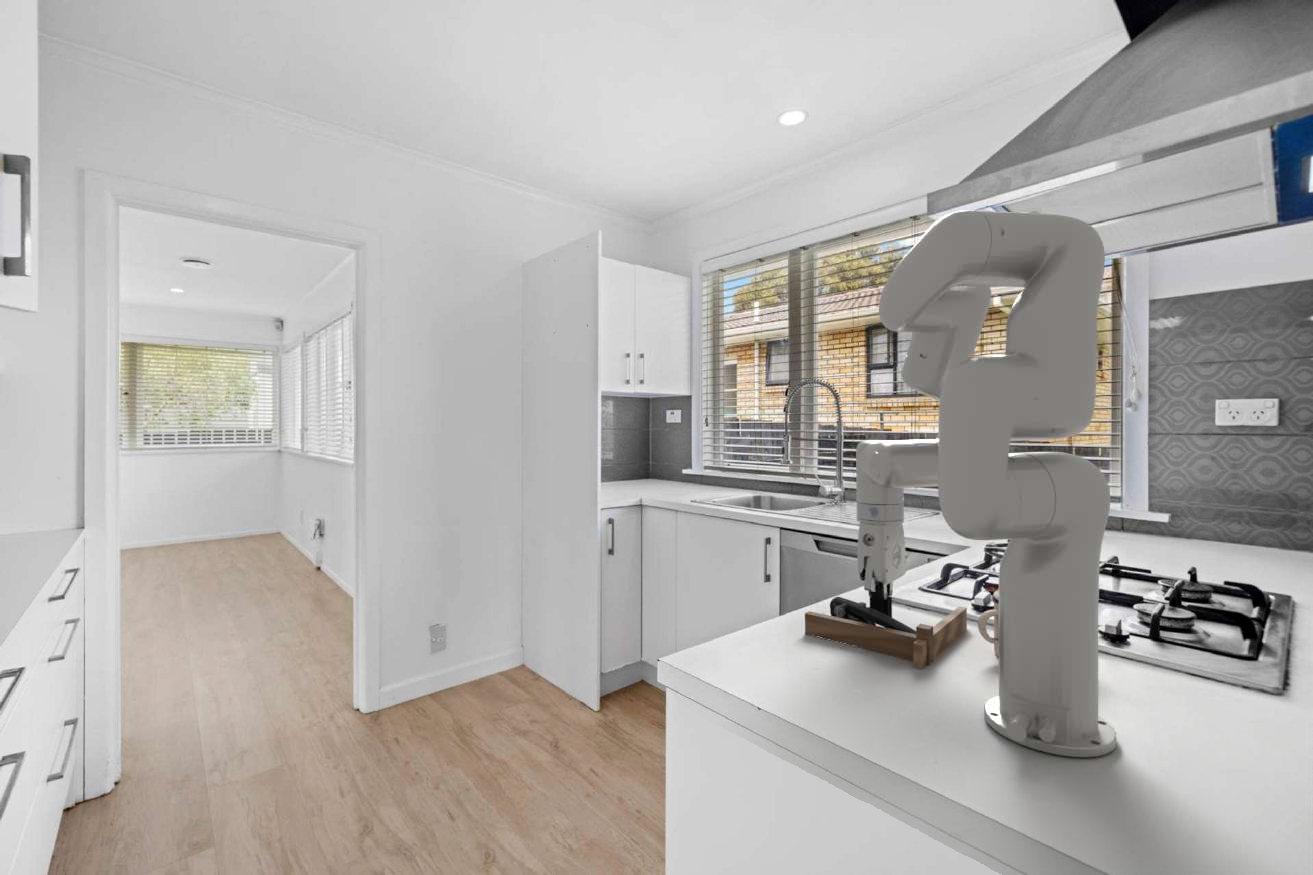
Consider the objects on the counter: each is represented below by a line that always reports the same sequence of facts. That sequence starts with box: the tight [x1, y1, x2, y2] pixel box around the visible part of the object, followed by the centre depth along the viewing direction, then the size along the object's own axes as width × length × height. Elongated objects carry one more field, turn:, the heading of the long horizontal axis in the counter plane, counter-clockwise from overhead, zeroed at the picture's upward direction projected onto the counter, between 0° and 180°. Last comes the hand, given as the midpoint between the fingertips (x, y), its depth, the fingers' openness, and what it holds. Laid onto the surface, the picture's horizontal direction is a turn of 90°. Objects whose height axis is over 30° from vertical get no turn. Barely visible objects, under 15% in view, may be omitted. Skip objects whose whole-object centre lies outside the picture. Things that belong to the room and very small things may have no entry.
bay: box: [804, 606, 968, 670], centre depth 100 cm, size 22×20×5 cm
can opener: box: [829, 596, 916, 634], centre depth 98 cm, size 18×7×6 cm, turn 27°
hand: (880, 619), depth 103 cm, fingers closed
